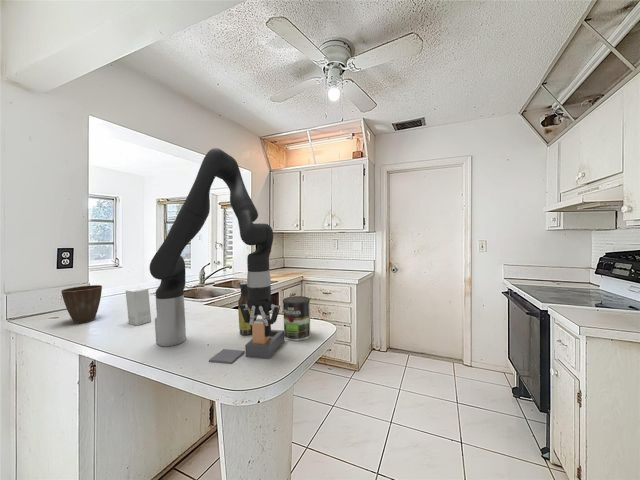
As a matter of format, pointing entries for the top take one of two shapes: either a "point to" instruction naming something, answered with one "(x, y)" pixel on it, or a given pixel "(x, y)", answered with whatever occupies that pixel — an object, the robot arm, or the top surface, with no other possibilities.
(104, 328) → the top surface
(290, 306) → the coffee can
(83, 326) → the top surface
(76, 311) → the plant pot
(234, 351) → the mat
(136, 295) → the skincare box
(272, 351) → the grey block holder
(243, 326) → the sauce bottle
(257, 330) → the plug
